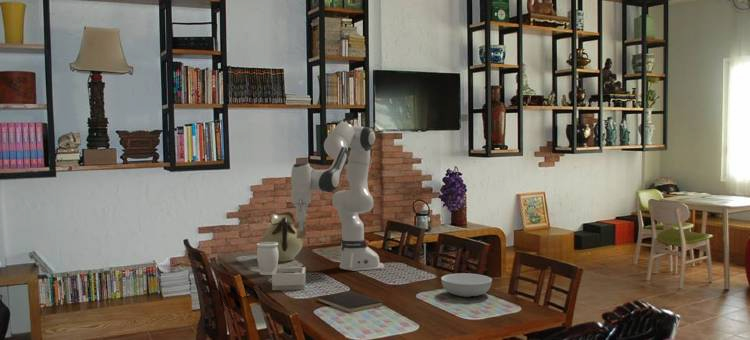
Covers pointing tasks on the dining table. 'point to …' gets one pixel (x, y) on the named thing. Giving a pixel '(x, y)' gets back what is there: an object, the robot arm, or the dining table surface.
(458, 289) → the serving bowl
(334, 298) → the hardcover book
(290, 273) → the white square box
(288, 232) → the beige rounded piece
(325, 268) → the dining table surface
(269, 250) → the jar
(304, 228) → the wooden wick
